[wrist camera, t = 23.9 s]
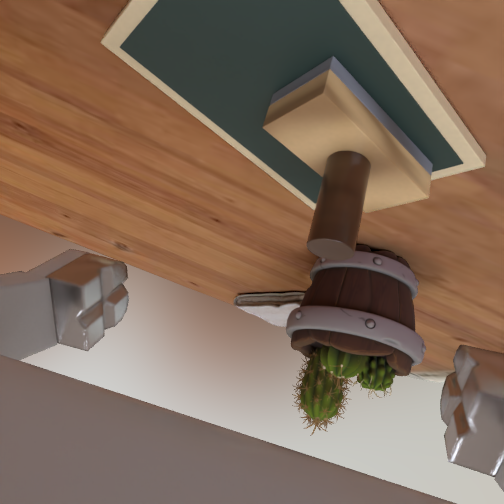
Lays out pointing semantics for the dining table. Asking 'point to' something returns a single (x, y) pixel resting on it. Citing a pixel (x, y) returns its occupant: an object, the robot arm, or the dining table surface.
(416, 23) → the dining table surface
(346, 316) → the flowerpot
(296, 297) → the washcloth
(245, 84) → the chalkboard
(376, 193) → the eraser
